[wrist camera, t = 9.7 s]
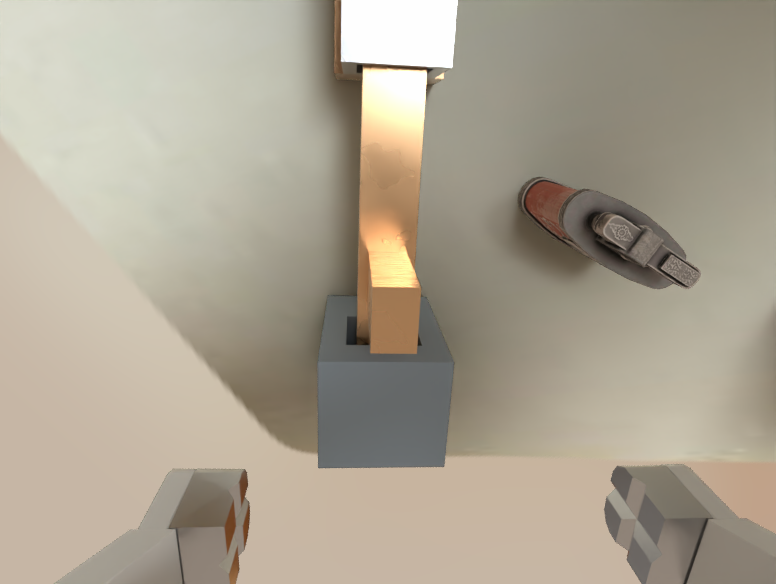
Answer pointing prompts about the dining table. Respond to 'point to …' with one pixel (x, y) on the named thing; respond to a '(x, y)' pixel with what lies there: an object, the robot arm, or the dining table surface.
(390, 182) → the stepped wooden block
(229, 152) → the dining table surface
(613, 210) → the lighter
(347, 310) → the socket block
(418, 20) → the sleeve
